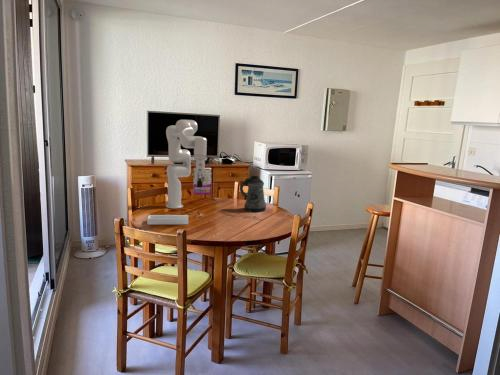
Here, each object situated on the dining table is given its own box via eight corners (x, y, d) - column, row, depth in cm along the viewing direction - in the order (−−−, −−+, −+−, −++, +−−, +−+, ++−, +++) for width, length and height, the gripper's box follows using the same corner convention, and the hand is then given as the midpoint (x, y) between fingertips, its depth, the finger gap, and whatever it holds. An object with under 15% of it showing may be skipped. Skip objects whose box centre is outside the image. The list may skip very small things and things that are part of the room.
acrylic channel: (149, 220, 229) (149, 215, 228) (188, 220, 233) (188, 215, 232) (147, 224, 220) (147, 218, 219) (188, 224, 224) (188, 218, 223)
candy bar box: (210, 193, 231) (211, 167, 228) (211, 194, 226) (212, 168, 223) (192, 193, 228) (193, 167, 225) (193, 194, 224) (193, 168, 221)
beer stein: (269, 211, 266) (271, 178, 261) (245, 213, 258) (246, 178, 254) (260, 206, 281) (262, 174, 277) (237, 208, 274) (238, 175, 269)
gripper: (206, 159, 215) (206, 189, 218) (205, 156, 232) (205, 184, 235) (194, 158, 214) (193, 188, 217) (193, 155, 230) (193, 184, 234)
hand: (199, 186), depth 226 cm, fingers closed on candy bar box, 5 cm apart
